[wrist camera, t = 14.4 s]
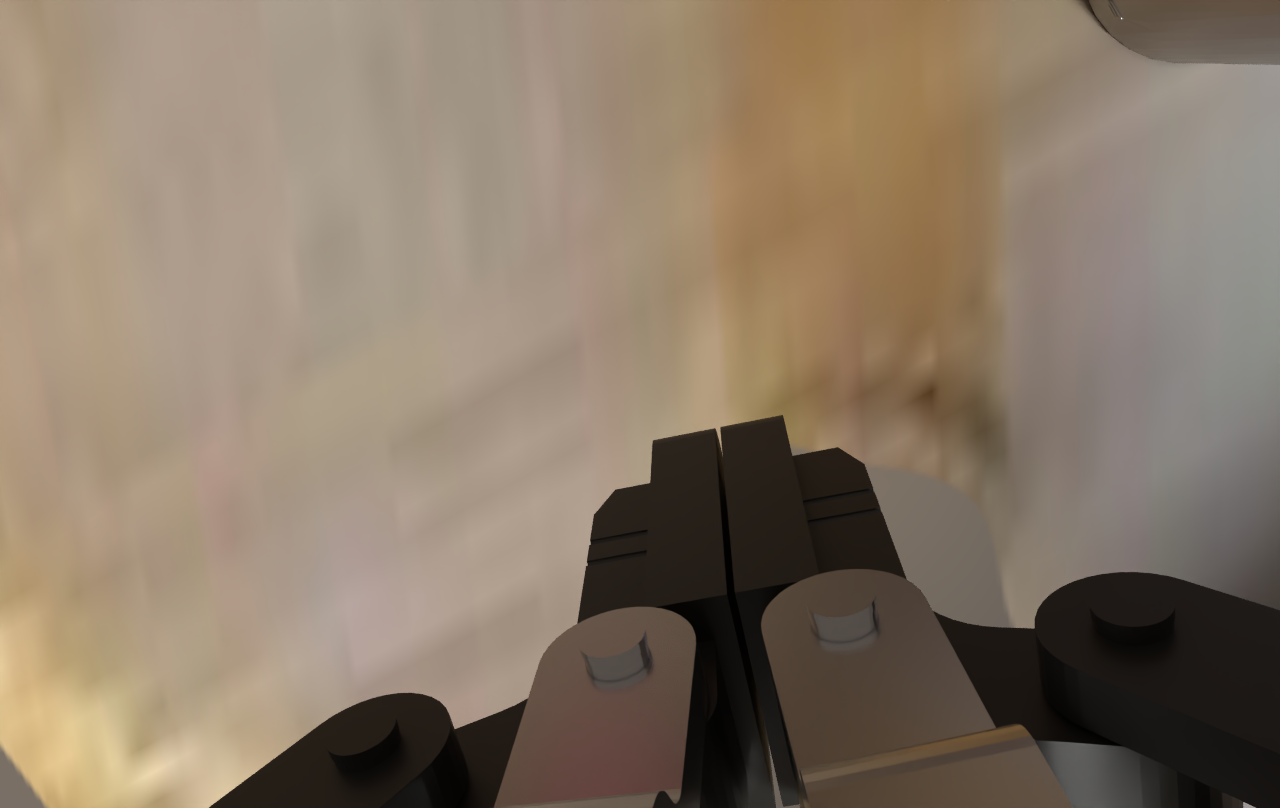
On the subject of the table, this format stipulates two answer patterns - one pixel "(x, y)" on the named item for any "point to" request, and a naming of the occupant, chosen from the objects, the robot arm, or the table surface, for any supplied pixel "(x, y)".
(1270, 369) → the table surface
